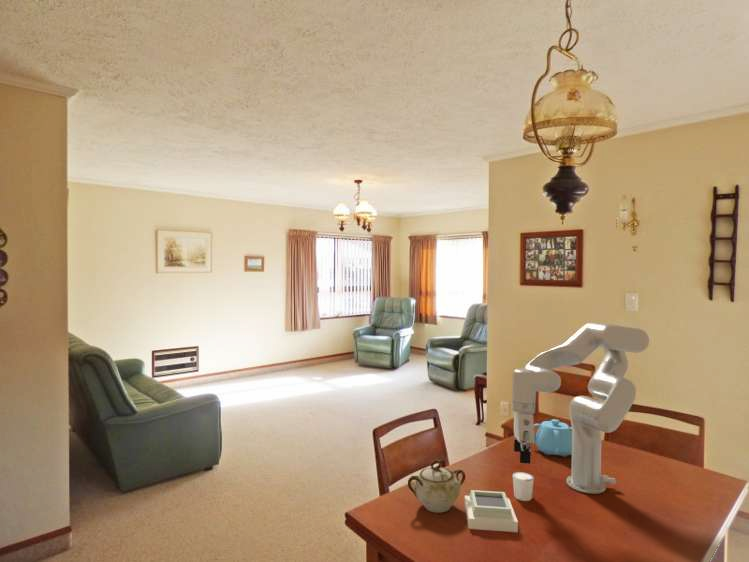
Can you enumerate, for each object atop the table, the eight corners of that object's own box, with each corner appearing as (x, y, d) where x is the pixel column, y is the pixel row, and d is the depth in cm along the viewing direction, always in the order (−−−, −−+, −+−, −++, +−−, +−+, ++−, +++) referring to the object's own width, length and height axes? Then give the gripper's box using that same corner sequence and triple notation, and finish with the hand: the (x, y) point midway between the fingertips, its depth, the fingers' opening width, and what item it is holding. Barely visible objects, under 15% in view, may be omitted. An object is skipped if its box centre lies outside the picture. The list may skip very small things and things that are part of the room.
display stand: (508, 507, 144) (509, 489, 144) (517, 532, 130) (518, 512, 130) (464, 504, 145) (464, 487, 145) (468, 528, 131) (468, 509, 131)
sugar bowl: (415, 522, 135) (415, 472, 135) (400, 498, 149) (401, 453, 149) (475, 514, 139) (475, 466, 139) (455, 491, 154) (455, 448, 154)
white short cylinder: (530, 492, 154) (531, 472, 154) (535, 502, 147) (536, 481, 147) (510, 491, 155) (510, 471, 155) (514, 501, 148) (514, 480, 148)
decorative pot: (556, 443, 201) (556, 412, 201) (584, 456, 186) (585, 423, 185) (526, 447, 195) (526, 416, 195) (553, 461, 180) (553, 428, 180)
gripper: (541, 414, 142) (539, 468, 142) (529, 400, 159) (527, 448, 159) (517, 413, 142) (515, 466, 142) (507, 398, 160) (505, 446, 160)
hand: (521, 457), depth 151 cm, fingers open, 9 cm apart
